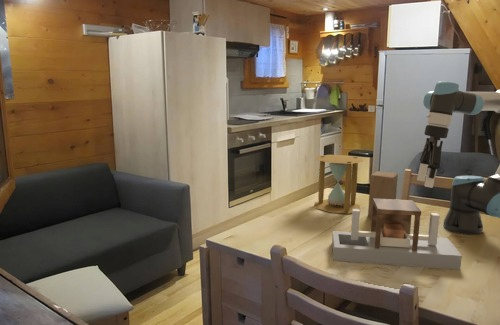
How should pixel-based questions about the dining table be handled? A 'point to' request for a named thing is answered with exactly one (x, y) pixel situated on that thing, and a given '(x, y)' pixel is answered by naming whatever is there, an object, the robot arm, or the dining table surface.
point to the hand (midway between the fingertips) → (424, 183)
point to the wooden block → (382, 187)
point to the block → (393, 231)
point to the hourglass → (337, 198)
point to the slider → (396, 241)
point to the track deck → (395, 252)
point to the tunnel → (395, 217)
